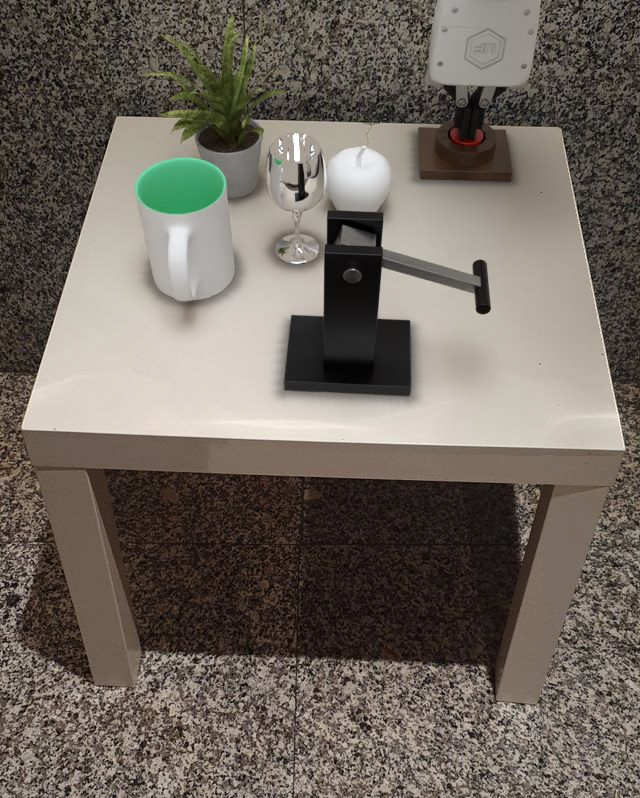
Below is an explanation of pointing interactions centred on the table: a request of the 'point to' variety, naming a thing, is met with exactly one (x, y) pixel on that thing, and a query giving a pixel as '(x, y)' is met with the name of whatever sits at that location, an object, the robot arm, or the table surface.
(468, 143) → the button
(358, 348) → the bracket
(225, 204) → the mug
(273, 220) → the table surface
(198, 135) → the house plant
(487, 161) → the button block
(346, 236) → the lever
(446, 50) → the robot arm
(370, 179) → the plain white apple
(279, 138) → the wineglass
